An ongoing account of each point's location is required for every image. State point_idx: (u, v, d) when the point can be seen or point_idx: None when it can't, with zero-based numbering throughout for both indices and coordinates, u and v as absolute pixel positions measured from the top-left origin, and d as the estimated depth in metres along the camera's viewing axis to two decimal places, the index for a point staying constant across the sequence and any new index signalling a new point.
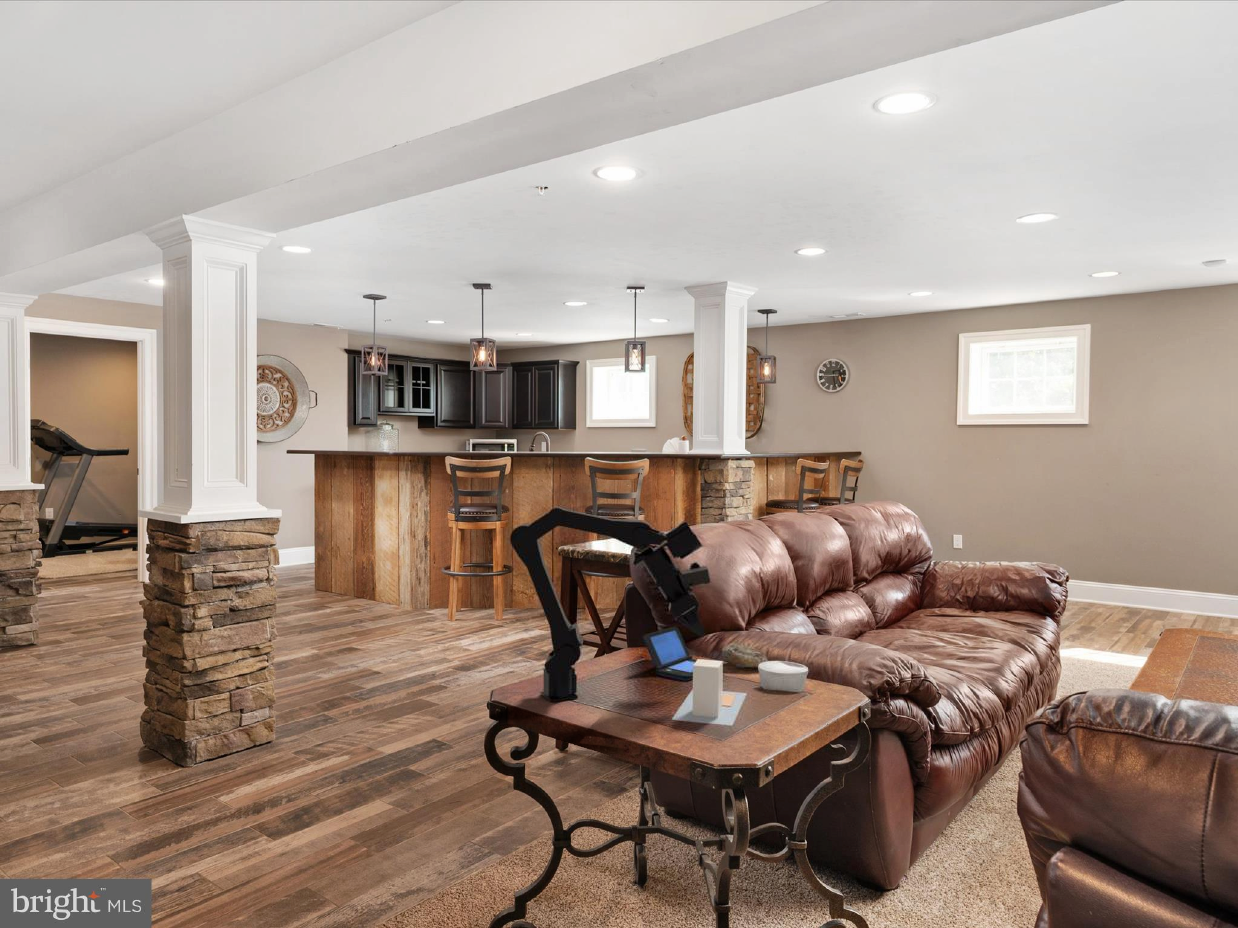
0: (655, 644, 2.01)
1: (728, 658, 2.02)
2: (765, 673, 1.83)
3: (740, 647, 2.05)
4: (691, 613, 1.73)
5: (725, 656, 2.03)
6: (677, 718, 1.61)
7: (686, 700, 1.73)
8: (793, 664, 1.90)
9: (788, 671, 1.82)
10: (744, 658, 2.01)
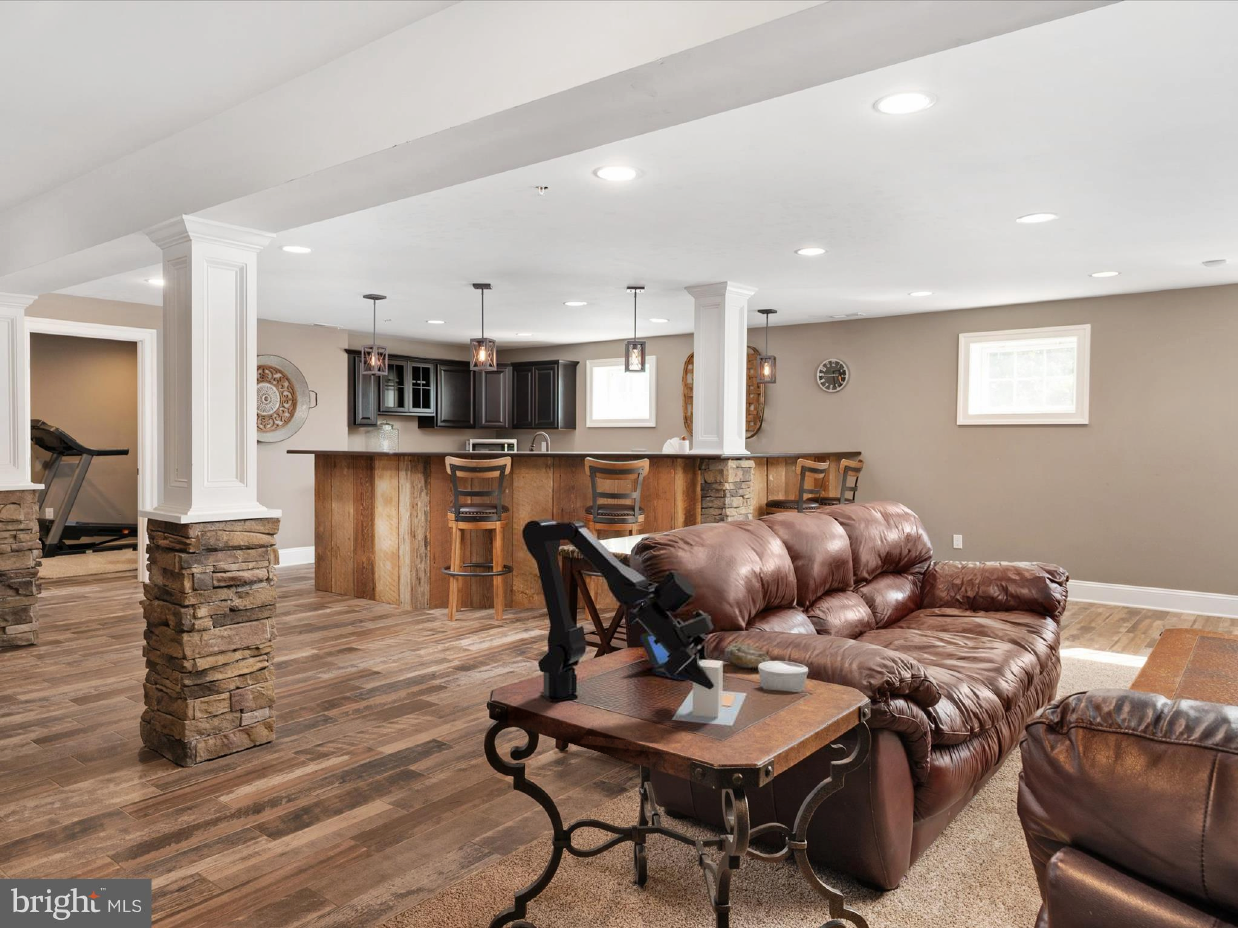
0: (652, 643, 2.01)
1: (731, 658, 2.02)
2: (765, 673, 1.83)
3: (743, 647, 2.05)
4: (693, 666, 1.62)
5: (728, 656, 2.03)
6: (677, 718, 1.61)
7: (686, 700, 1.73)
8: (793, 664, 1.90)
9: (788, 671, 1.82)
10: (746, 658, 2.01)
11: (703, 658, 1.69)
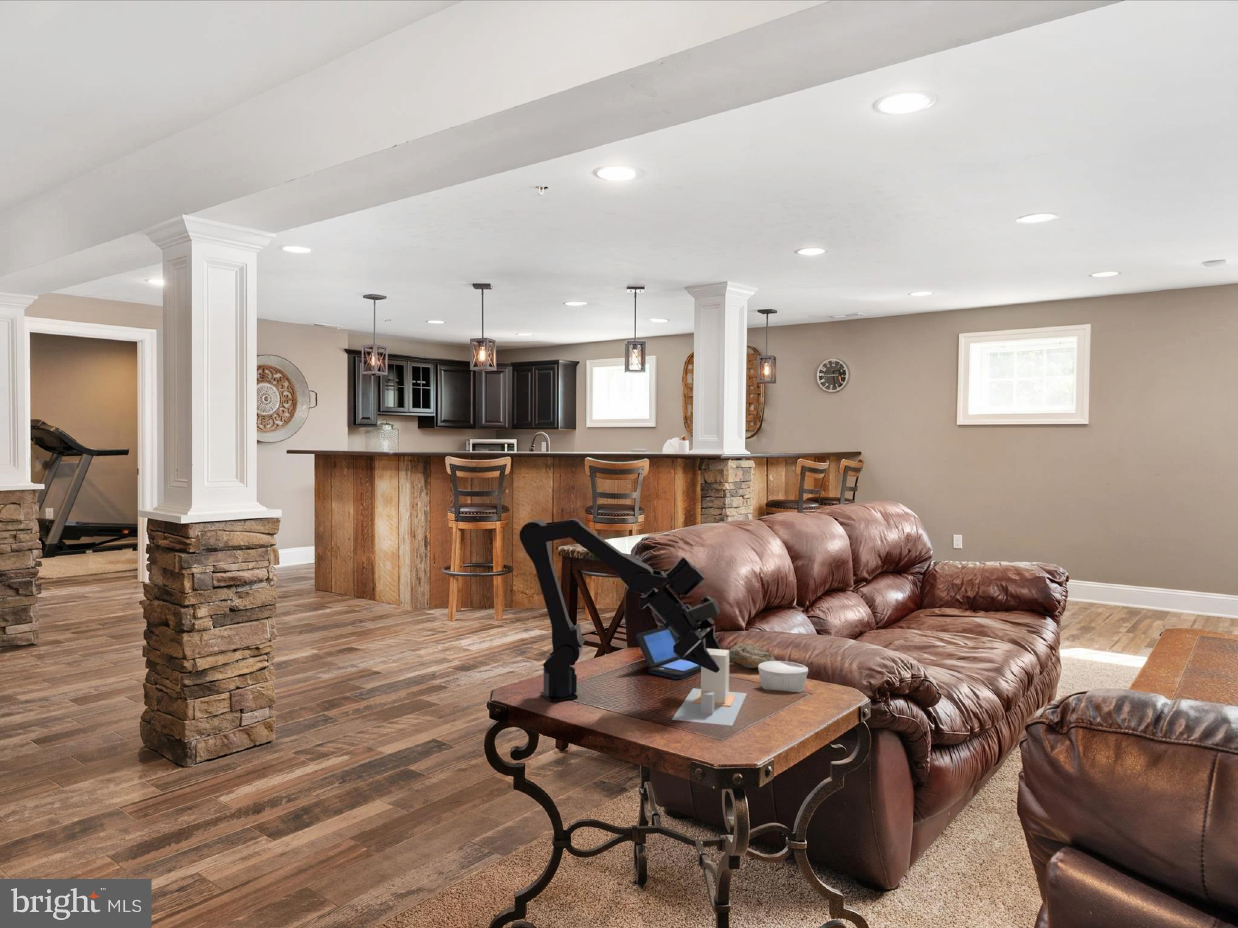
0: (648, 642, 2.02)
1: (735, 658, 2.02)
2: (765, 673, 1.83)
3: (748, 647, 2.05)
4: (699, 650, 1.69)
5: (733, 656, 2.03)
6: (677, 718, 1.61)
7: (686, 700, 1.73)
8: (793, 664, 1.90)
9: (788, 671, 1.82)
10: (751, 658, 2.00)
11: (712, 640, 1.79)
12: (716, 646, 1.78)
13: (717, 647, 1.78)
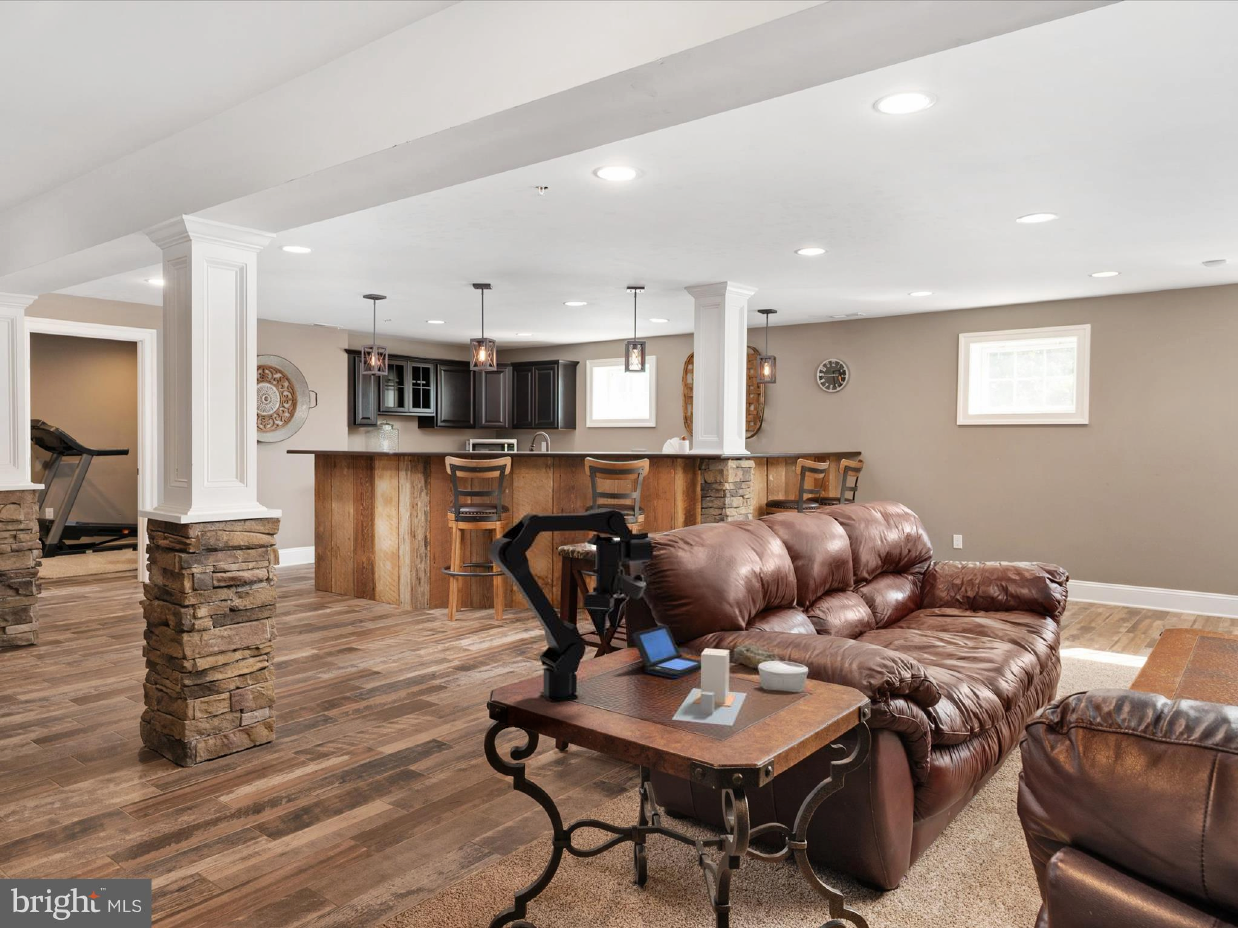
0: (645, 642, 2.03)
1: (739, 658, 2.02)
2: (765, 673, 1.83)
3: (752, 648, 2.05)
4: (602, 612, 1.79)
5: (737, 656, 2.03)
6: (677, 718, 1.61)
7: (686, 700, 1.73)
8: (793, 664, 1.90)
9: (788, 671, 1.82)
10: (755, 658, 2.00)
11: (618, 607, 1.89)
12: (616, 613, 1.89)
13: (616, 615, 1.89)
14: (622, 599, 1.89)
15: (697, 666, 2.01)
